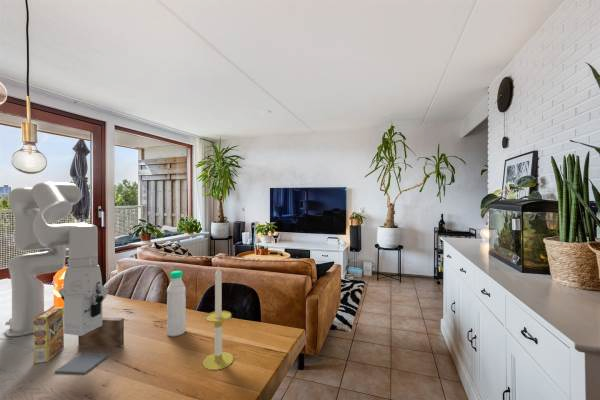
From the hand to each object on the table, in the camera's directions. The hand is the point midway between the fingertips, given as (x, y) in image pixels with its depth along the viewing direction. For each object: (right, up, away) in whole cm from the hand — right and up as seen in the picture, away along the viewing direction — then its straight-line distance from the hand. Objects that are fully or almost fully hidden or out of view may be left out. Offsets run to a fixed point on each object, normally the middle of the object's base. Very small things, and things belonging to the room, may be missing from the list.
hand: (83, 314), depth 90 cm
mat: (0, -16, 0) cm, 16 cm away
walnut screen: (-2, -16, +11) cm, 20 cm away
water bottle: (+21, -16, +21) cm, 34 cm away
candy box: (-16, -16, +5) cm, 23 cm away
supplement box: (0, -5, 0) cm, 5 cm away
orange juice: (-49, -16, +50) cm, 72 cm away
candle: (+44, -17, +2) cm, 47 cm away
